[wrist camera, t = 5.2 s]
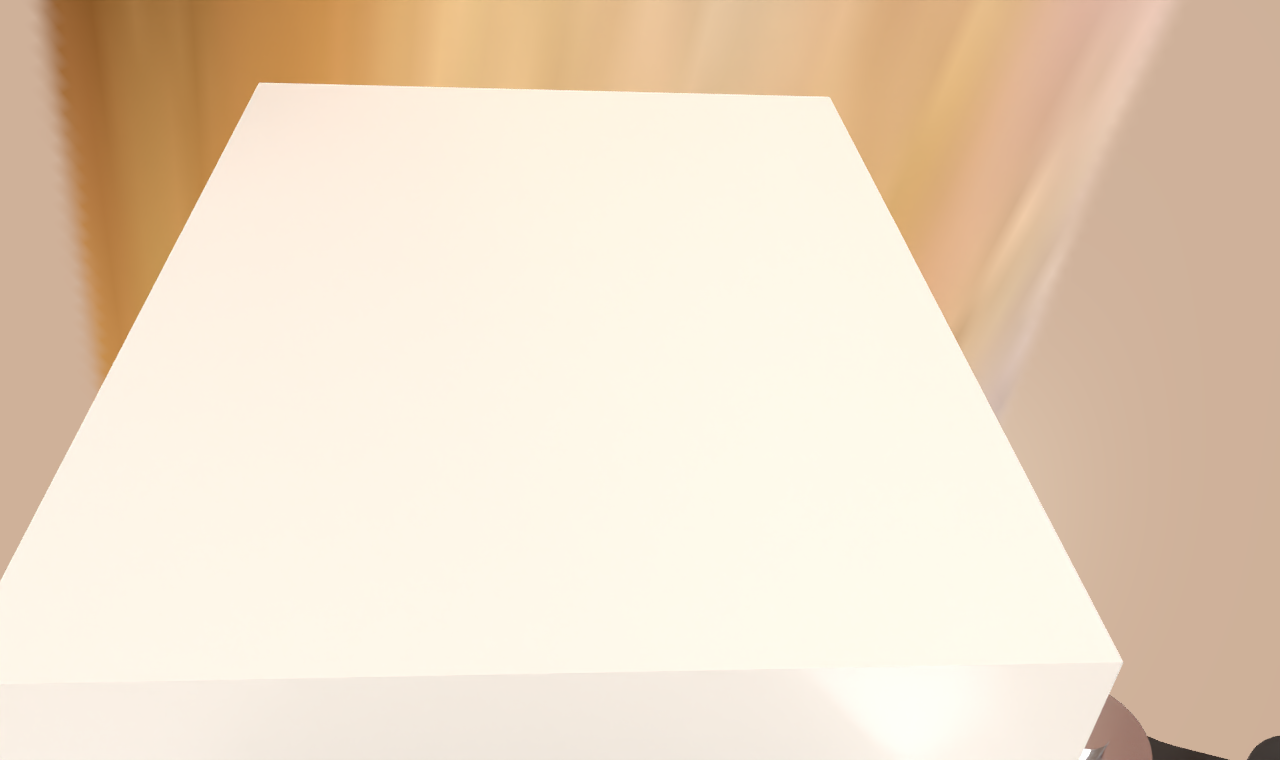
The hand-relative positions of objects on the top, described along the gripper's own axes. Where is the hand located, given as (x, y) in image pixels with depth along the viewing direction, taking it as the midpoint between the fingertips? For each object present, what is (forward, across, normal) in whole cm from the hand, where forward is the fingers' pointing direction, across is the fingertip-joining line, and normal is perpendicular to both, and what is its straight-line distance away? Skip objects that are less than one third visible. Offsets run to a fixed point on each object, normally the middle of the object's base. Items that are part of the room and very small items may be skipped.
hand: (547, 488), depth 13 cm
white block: (+3, 0, 0) cm, 3 cm away
